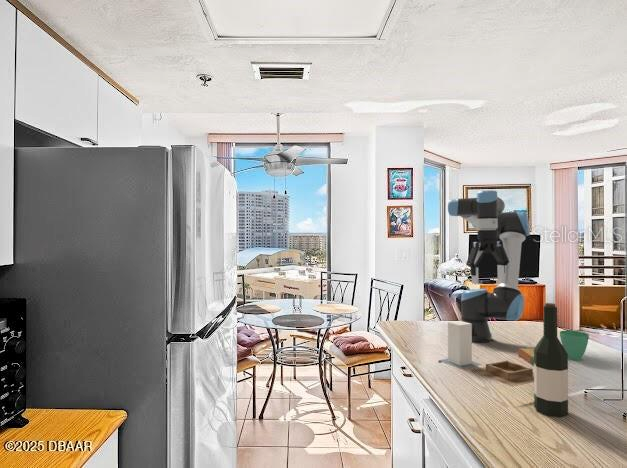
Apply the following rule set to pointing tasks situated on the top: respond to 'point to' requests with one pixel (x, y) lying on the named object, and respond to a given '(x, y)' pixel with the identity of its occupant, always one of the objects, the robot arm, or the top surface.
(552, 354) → the wine bottle
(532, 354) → the carton
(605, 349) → the top surface
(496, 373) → the pocket tray
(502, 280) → the robot arm
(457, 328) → the cream block
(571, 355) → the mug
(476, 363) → the slate mat
